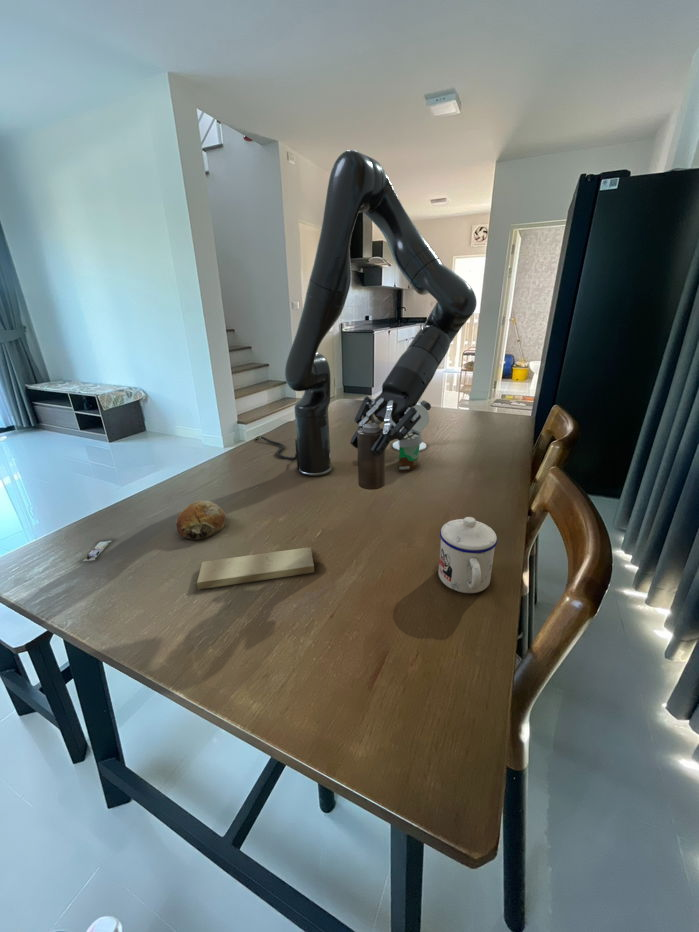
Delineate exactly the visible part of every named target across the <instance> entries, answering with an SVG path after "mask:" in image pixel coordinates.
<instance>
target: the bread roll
mask: <svg viewBox="0 0 699 932" xmlns="http://www.w3.org/2000/svg"><path fill="white" fill-rule="evenodd" d="M225 524H226V514H225V512H224V510H223V509H222V508H221V507H220V506H219V505H218V504H217V503H214V502H212V501H210V500H201V499H200V500H193V501H191V503H189V504H188V505H187V506H185V507H184V509H182V510H181V511H180V512H179V514H178V516H177V519H176V530H177V533H178V535H179V536H180V537H182V538H183V539H188V540H192V541H193V540H197V541H198V540H202V539H206V538H210V537H211V536H214V535H215V534H219V533H220V532H221V530H222V529H223V528H224V527H225Z"/></svg>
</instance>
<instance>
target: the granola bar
mask: <svg viewBox="0 0 699 932" xmlns="http://www.w3.org/2000/svg"><path fill="white" fill-rule="evenodd" d="M110 543H112V540H107V541H99V542H98V543H97V545H95V546H94V547H93V549H91V551H90V552H89V553H88V554H87V555H86V556H85V558H84V559H83V560H82V562H86V561H87V562H88V561H95V560H96V559H97V557H99V555H100V554H101V553H102V552H103V550H105V548H106V547H107V546H108V545H109V544H110Z"/></svg>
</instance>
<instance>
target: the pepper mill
mask: <svg viewBox="0 0 699 932" xmlns="http://www.w3.org/2000/svg"><path fill="white" fill-rule="evenodd" d="M383 429H384V428H383V427H381V424H380V425H379V424H375V423H371V422H368V423H367V424H364V425H363V428H360V429H359V430H358V431H357V430H356V431H357V443H358V448H357V476H358V477H357V481H358V482H357V484H358V487H360V488H361V489H363V490H368V491H369V490H370V491H374V490H381V489H382V488H384V486H385V485H386V450H385V451H384V452H383V453H382V454H381V455H380V456H379V457H377V456H375V455H374V454H373V453H372V452H371V448H372V446H373V445H374V443H375V442H376V440H377V439H378V437H379V435H380V434H383Z"/></svg>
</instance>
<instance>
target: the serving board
mask: <svg viewBox="0 0 699 932" xmlns="http://www.w3.org/2000/svg"><path fill="white" fill-rule="evenodd" d="M313 573H315V564H314V559H313V553H312V547H311V546H308V547H300V548H294V549H286V550H280V551H279V550H277V551H271V552H265V553H257V554H249V555H243V556H234V557H227V558H220V559H214V560H206V561H202V562H201V566H200V570H199V573H198V578H197V581H196V585H197V589H198V590H207V589H212V588H220V587H226V586H231V585H232V586H233V585H238V584H239V585H240V584H245V583H252V582H259V581H266V580H273V579H279V578H287V577H294V576H299V575H306V574H313Z"/></svg>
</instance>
